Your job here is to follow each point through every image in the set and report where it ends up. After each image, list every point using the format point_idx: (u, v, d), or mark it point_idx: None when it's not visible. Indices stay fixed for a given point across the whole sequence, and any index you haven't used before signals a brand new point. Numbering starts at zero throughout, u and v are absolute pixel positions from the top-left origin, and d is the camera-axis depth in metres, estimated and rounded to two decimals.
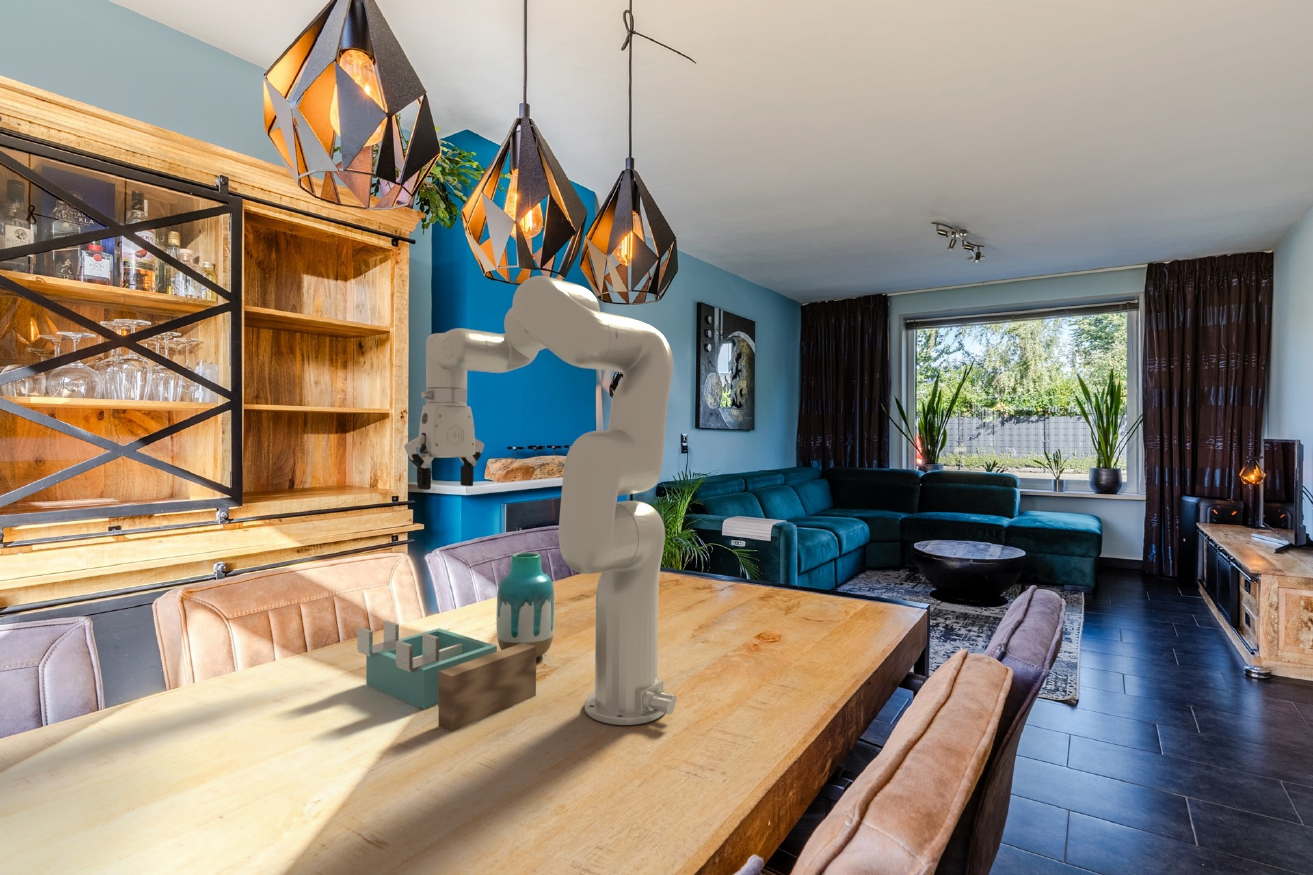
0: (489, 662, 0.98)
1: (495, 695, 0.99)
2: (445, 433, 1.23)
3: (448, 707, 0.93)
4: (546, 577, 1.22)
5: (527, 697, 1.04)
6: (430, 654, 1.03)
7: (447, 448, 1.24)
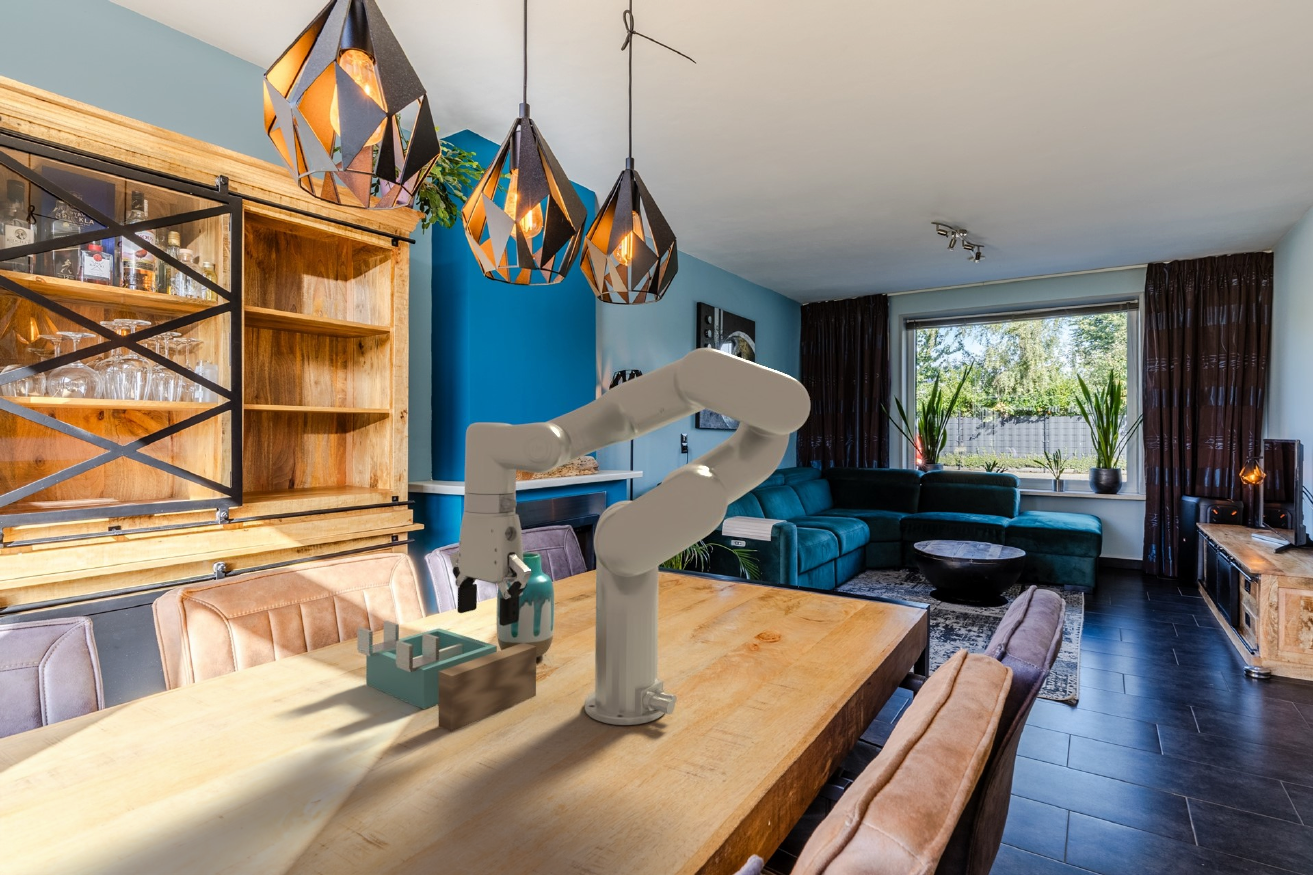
0: (489, 662, 0.98)
1: (495, 695, 0.99)
2: None
3: (448, 707, 0.93)
4: (546, 577, 1.22)
5: (527, 697, 1.04)
6: (430, 654, 1.03)
7: None
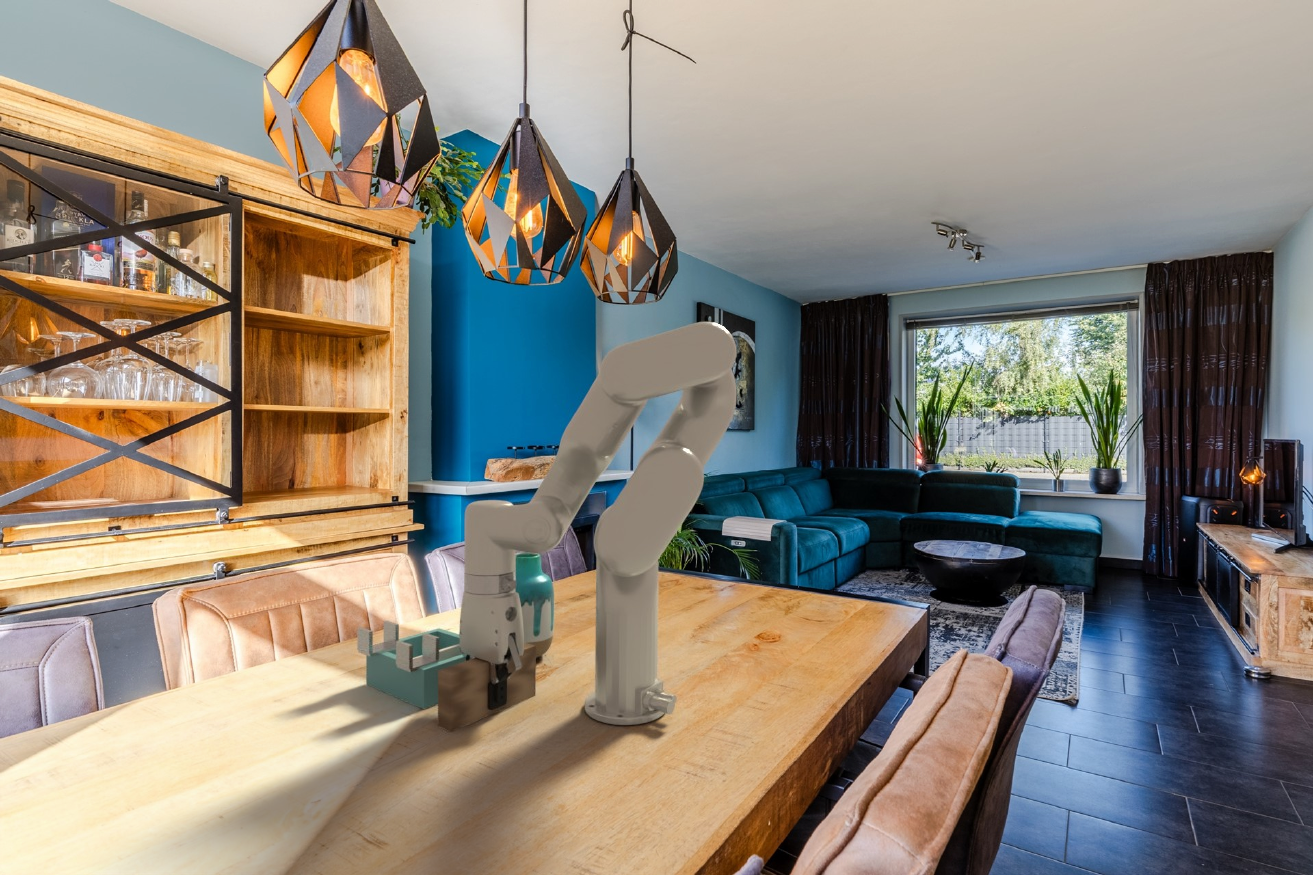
0: None
1: None
2: None
3: (447, 706, 0.93)
4: (546, 577, 1.22)
5: (526, 696, 1.04)
6: (430, 654, 1.03)
7: None
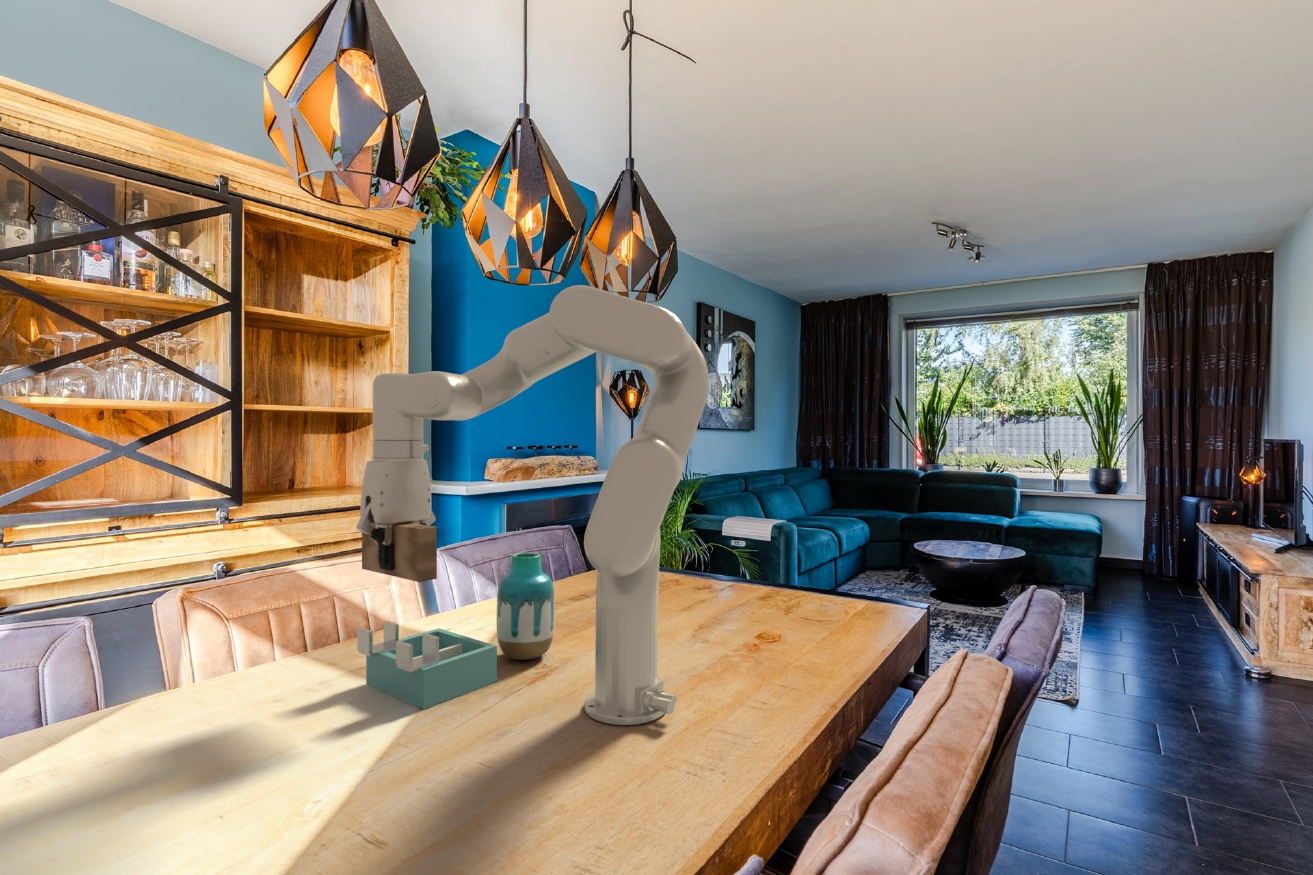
0: (409, 523, 1.05)
1: None
2: None
3: (432, 557, 1.00)
4: (546, 577, 1.22)
5: None
6: (430, 654, 1.03)
7: None
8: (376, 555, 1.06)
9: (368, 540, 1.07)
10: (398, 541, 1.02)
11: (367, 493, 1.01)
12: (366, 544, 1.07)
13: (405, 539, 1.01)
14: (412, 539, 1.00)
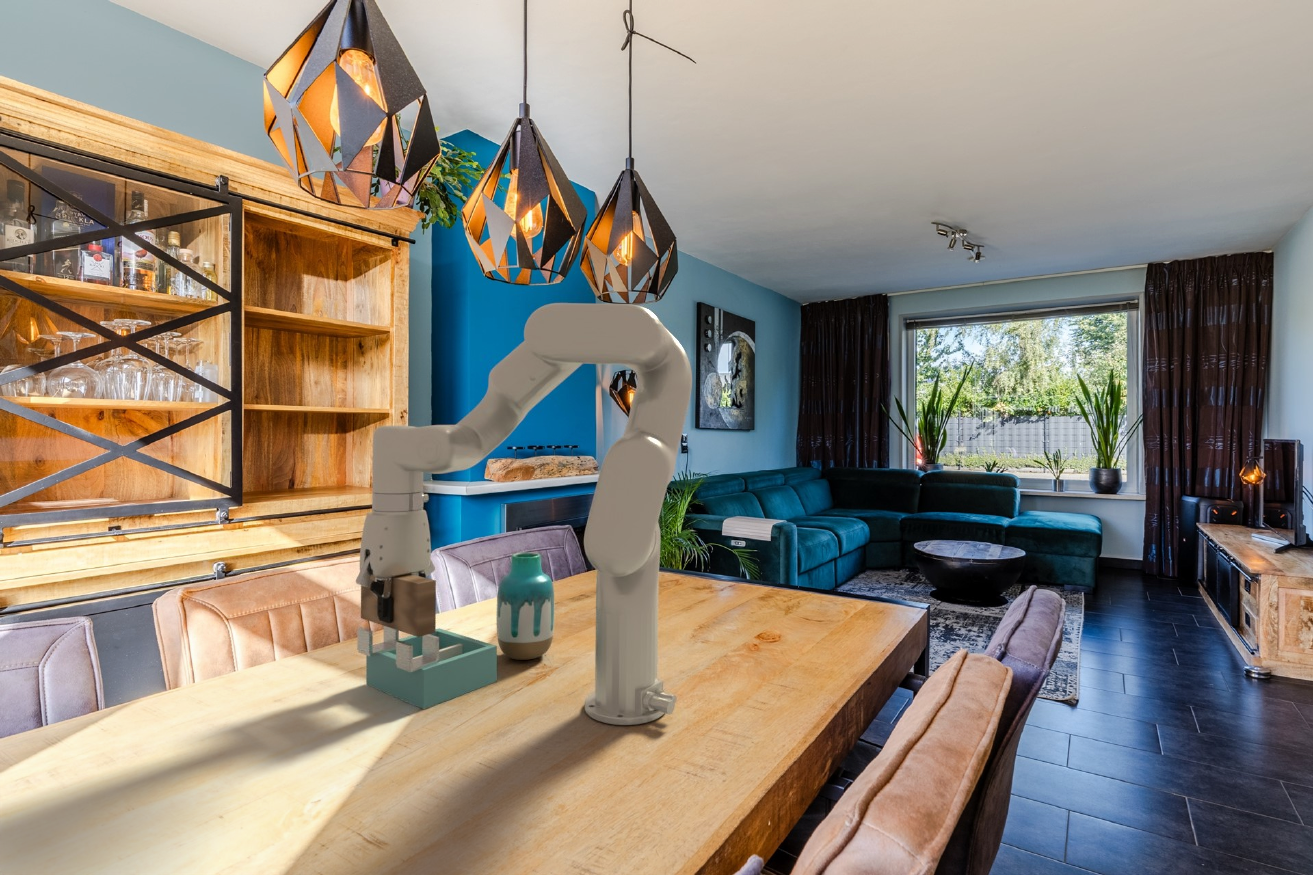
0: (408, 574, 1.05)
1: None
2: None
3: (431, 611, 1.01)
4: (546, 577, 1.22)
5: None
6: (430, 654, 1.03)
7: None
8: (375, 606, 1.06)
9: (367, 590, 1.07)
10: (397, 594, 1.02)
11: (366, 547, 1.01)
12: (365, 594, 1.07)
13: (404, 593, 1.01)
14: (411, 593, 1.00)
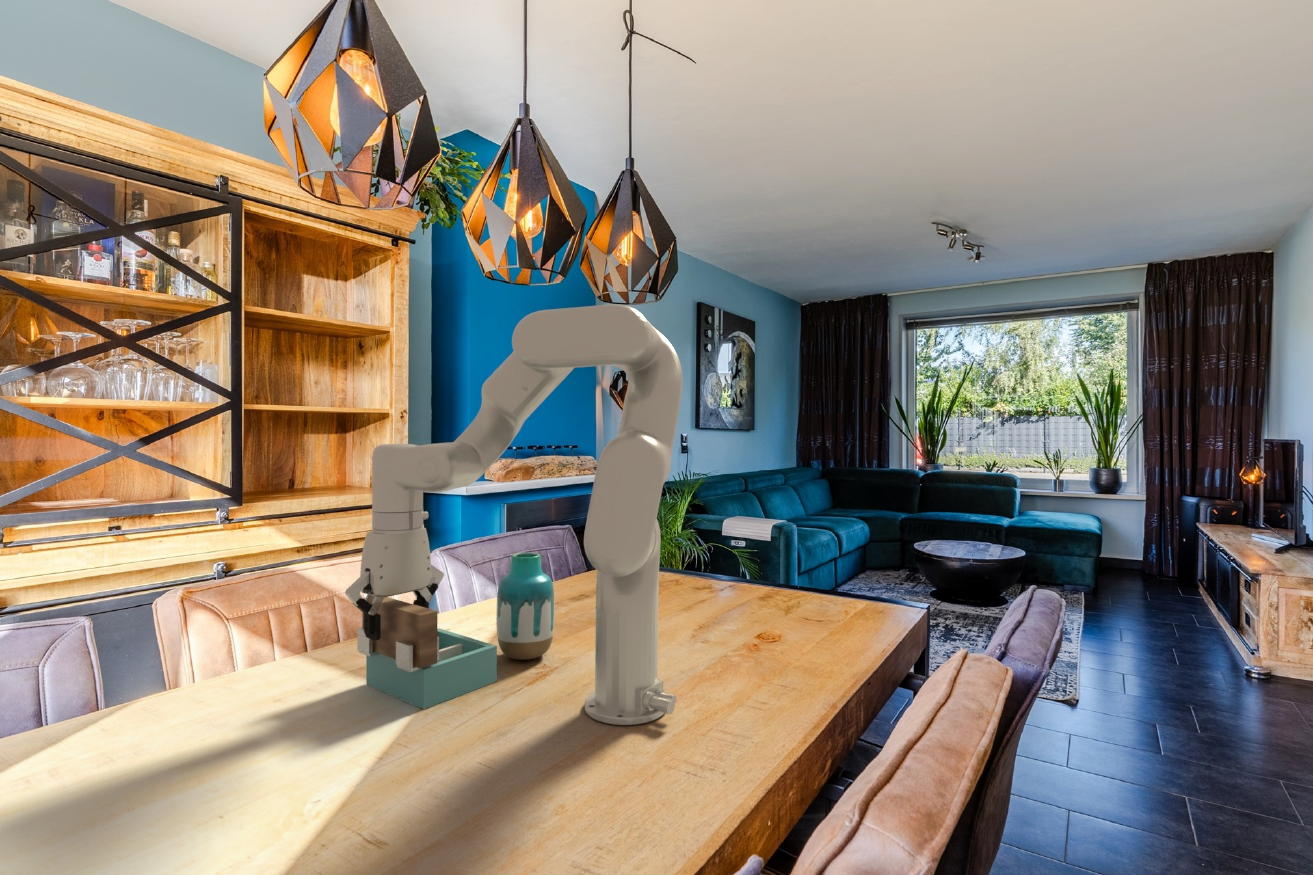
0: (410, 604, 1.05)
1: None
2: None
3: (433, 641, 1.01)
4: (546, 577, 1.22)
5: None
6: None
7: None
8: None
9: None
10: (399, 624, 1.02)
11: (367, 566, 1.01)
12: None
13: (406, 624, 1.01)
14: (412, 624, 1.00)
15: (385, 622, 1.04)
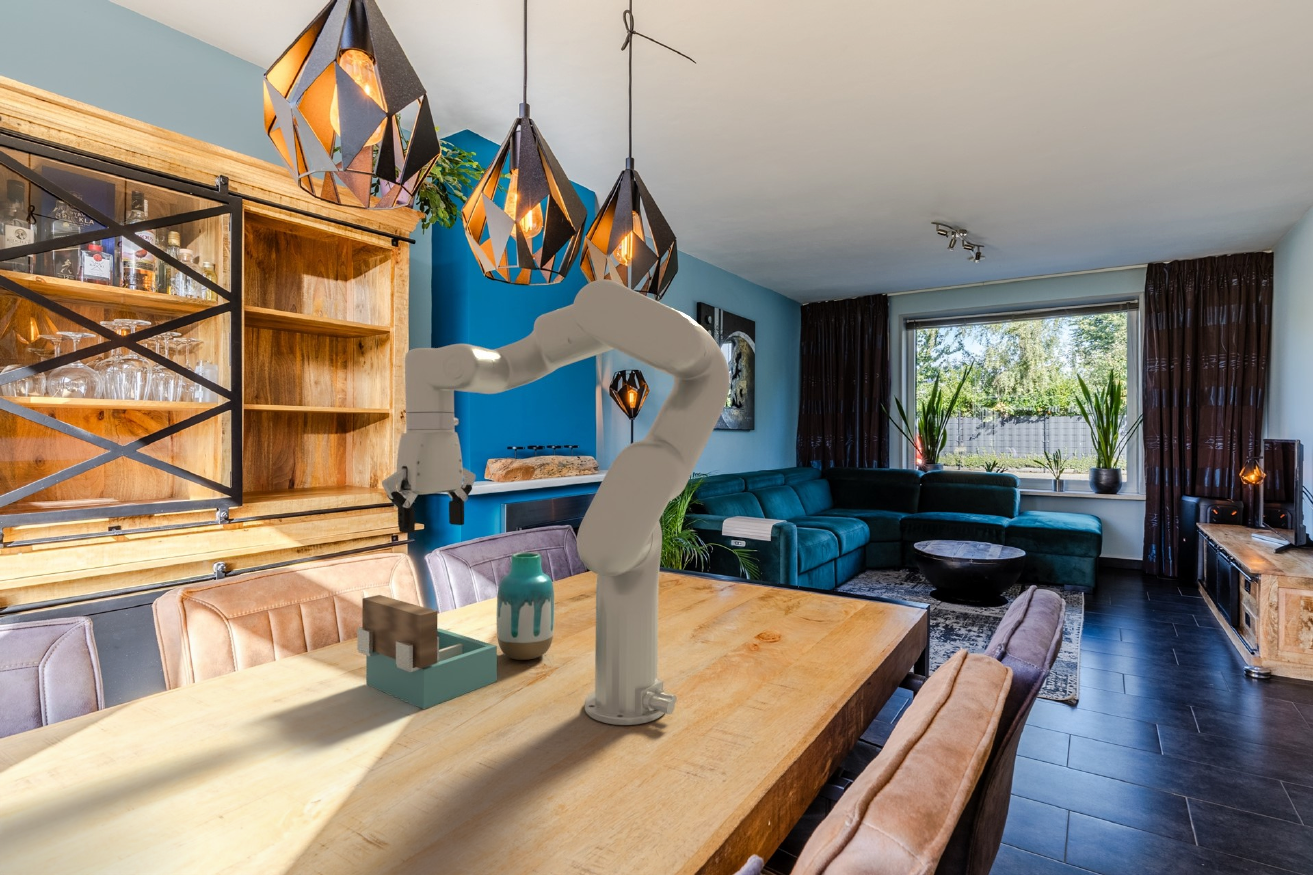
0: (410, 604, 1.05)
1: None
2: None
3: (433, 641, 1.01)
4: (546, 577, 1.22)
5: None
6: None
7: None
8: (376, 635, 1.06)
9: (368, 619, 1.07)
10: (399, 624, 1.02)
11: (403, 464, 1.04)
12: (367, 623, 1.07)
13: (406, 624, 1.01)
14: (412, 624, 1.00)
15: (385, 622, 1.04)
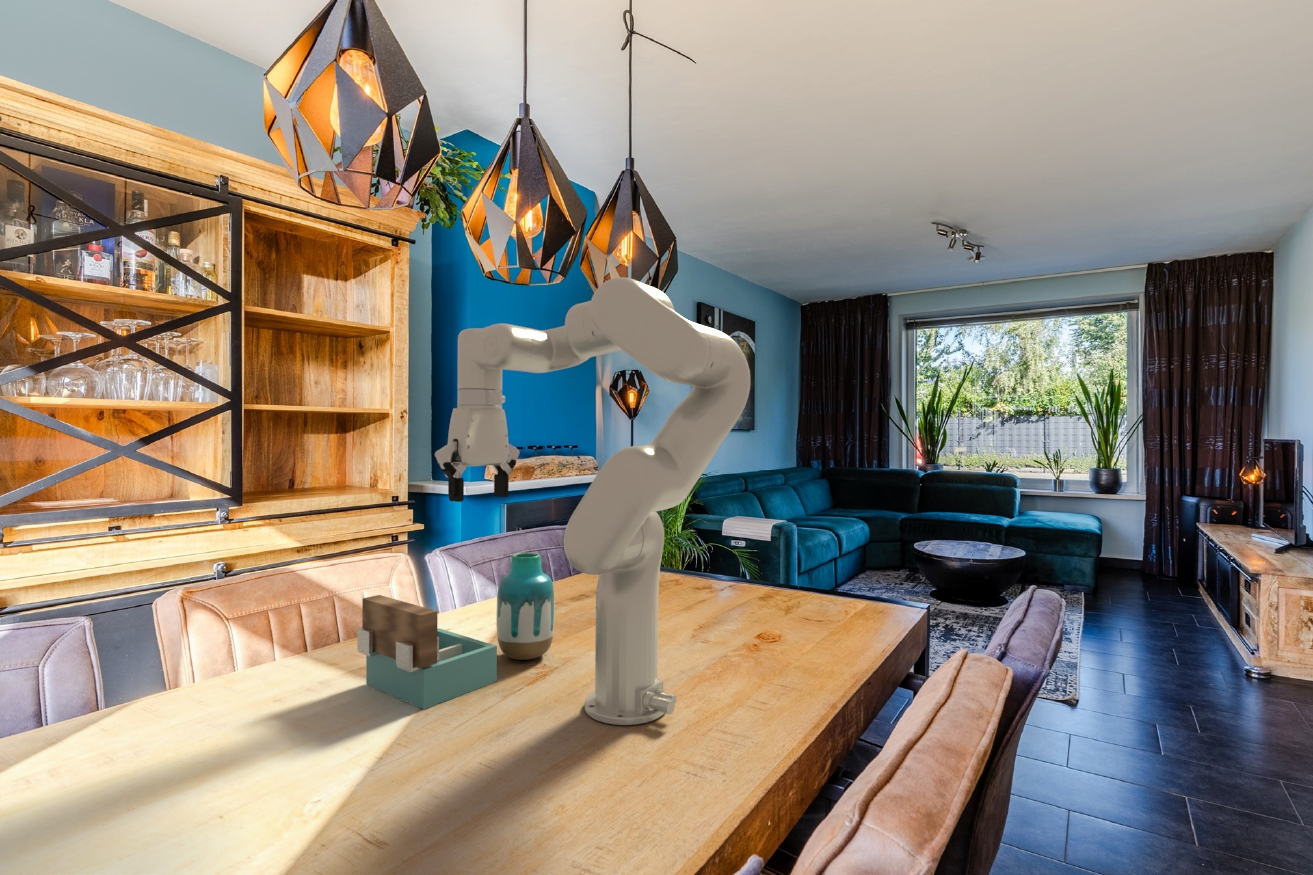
0: (410, 604, 1.05)
1: None
2: None
3: (433, 641, 1.01)
4: (546, 577, 1.22)
5: None
6: None
7: None
8: (376, 635, 1.06)
9: (368, 619, 1.07)
10: (399, 624, 1.02)
11: (454, 437, 1.11)
12: (367, 623, 1.07)
13: (406, 624, 1.01)
14: (412, 624, 1.00)
15: (385, 622, 1.04)
